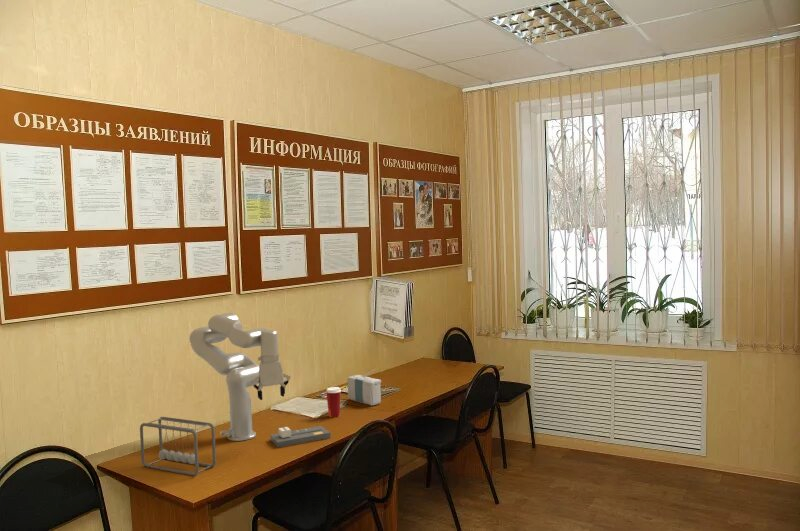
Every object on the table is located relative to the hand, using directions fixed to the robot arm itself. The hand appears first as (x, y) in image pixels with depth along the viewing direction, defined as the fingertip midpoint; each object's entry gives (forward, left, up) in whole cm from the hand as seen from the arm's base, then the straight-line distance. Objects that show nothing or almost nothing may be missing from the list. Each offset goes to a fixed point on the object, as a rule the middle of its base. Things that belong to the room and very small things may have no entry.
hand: (271, 397), depth 267 cm
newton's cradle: (-40, -7, -21) cm, 46 cm away
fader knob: (+5, 0, -18) cm, 18 cm away
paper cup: (+38, +26, -21) cm, 50 cm away
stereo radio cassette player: (+62, +42, -21) cm, 78 cm away
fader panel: (+12, 0, -20) cm, 24 cm away
